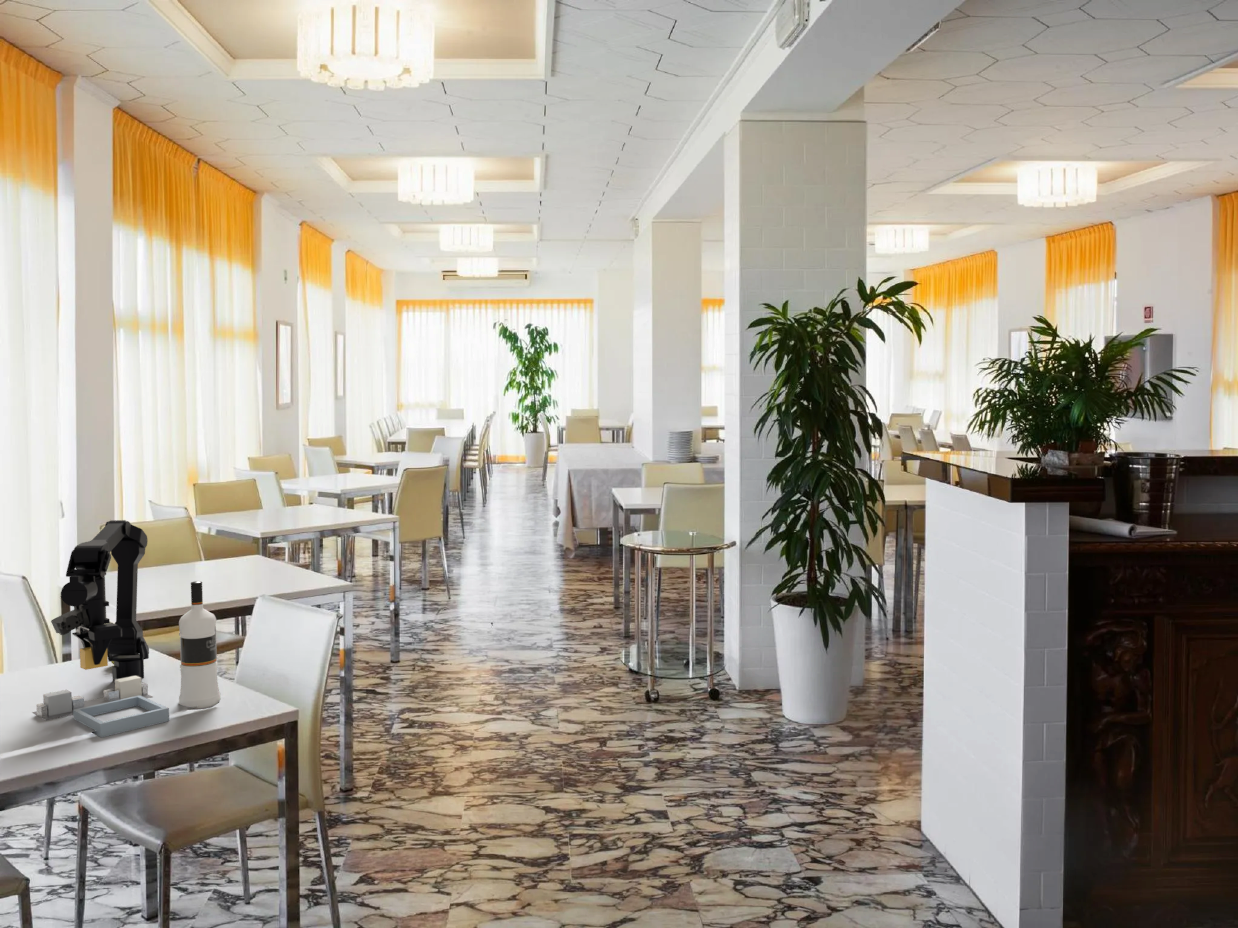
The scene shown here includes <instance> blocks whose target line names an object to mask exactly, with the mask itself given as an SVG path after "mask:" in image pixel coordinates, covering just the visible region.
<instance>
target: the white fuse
mask: <svg viewBox="0 0 1238 928" xmlns="http://www.w3.org/2000/svg"><path fill="white" fill-rule="evenodd" d="M141 682H142V678H141V677H138V676H131V677H126V678H121V679H116V680H115V682H114V688H115V689H117V690H119V700H121V699H125V698H130V697H134V696H139V695H140V696H142V689H141Z"/></svg>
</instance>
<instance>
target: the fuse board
mask: <svg viewBox="0 0 1238 928" xmlns="http://www.w3.org/2000/svg"><path fill="white" fill-rule="evenodd" d="M148 688H149V685H148V684H147V683H145V682H143V681H141V689H142V696H143V697H145V698H147V699H151V698H154V696H152V695H150V694H149V692H148V691H149V689H148ZM116 700H119V690H117V689H115V687H114V688H113V687H112V688H108V689H103V696H101V697H96V698H92V699H87V700H85V698H84V697H83V696H81V695H75V696H74V695H73V696H72V711H70V712H66V713H61V714H57V715H52V716H48V715H47V705H45V704H44V703H36V704H35V705H36V711H32V712H31V713H32V714H34V715H36V716H37V717H39V718H41V719H43V720H44V721H51V720H57V719H61V718H66V717H69V716H73V710H75V709H79V708H84V707H89V706H93V705H98V704H102V703H107V702H111V701H116Z"/></svg>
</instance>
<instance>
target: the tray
mask: <svg viewBox="0 0 1238 928" xmlns="http://www.w3.org/2000/svg"><path fill="white" fill-rule="evenodd" d="M136 706H138V707H140V708H142V709H144V710H147V711H145V712H139V713H136V714H132V715H127V716H124V717H119V718H114V719H110V720H105V721H102V720H100V719H98V718H97V717H94V716H98V715H101V714H107V713H110V712H111V713H112V712H115V711H119V710H125V709H128V708H133V707H136ZM72 717H73V718H72V719H73V720H75V721H76V722H79V723H81V724H82V725H84V726H86V727H87V728H90V729H92V730H93V731H90V733H92V734H94V735H95V736H97V737H99V738H104V737H109V736H113V735H117V734H121V733H125V731H126V732H129V730H130V731H133V730H138V729H141V728H145V727H144V726H146V727H149V726H153V725H154V726H155V725H158V724H162V723H166V722H170V708H169V707H167V706H166V705H163V704H161V703H158V702H157V701H154V700H151V699H150V698H145V697H143V696H140V695H139V696H134V697H130V698H125V699H121V700H116V701H111V702H107V703H102V704H98V705H93V706H89V707H84V708H79V709H75V710H73V715H72ZM137 728H138V729H137Z"/></svg>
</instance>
